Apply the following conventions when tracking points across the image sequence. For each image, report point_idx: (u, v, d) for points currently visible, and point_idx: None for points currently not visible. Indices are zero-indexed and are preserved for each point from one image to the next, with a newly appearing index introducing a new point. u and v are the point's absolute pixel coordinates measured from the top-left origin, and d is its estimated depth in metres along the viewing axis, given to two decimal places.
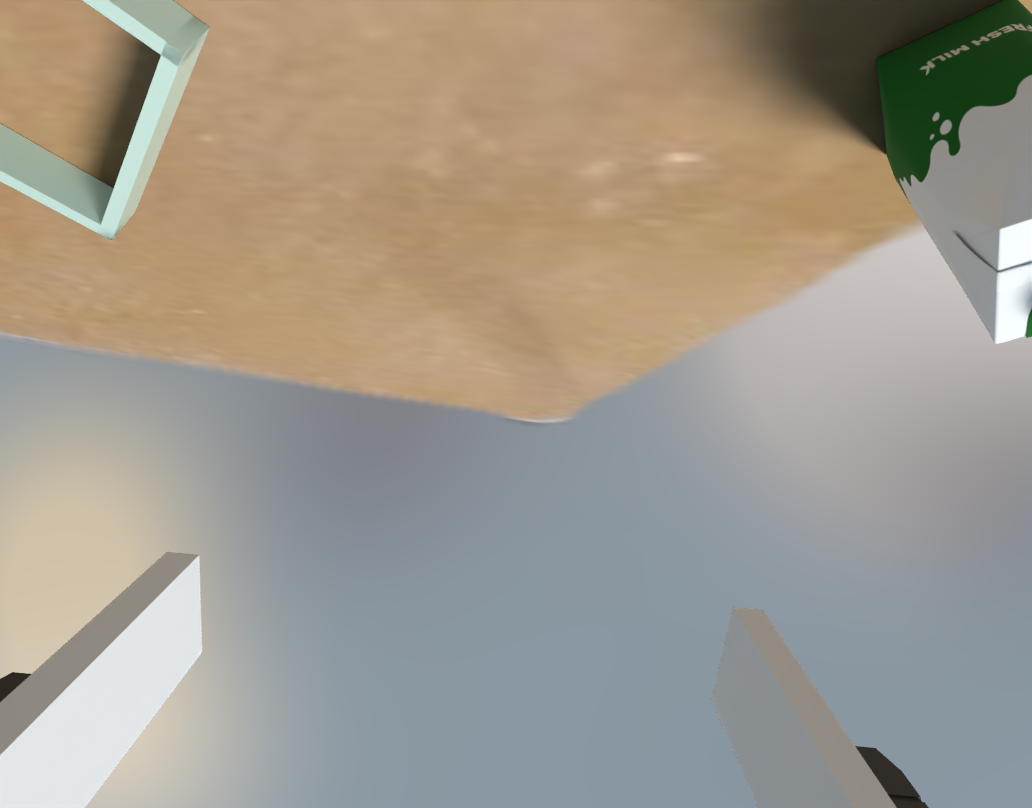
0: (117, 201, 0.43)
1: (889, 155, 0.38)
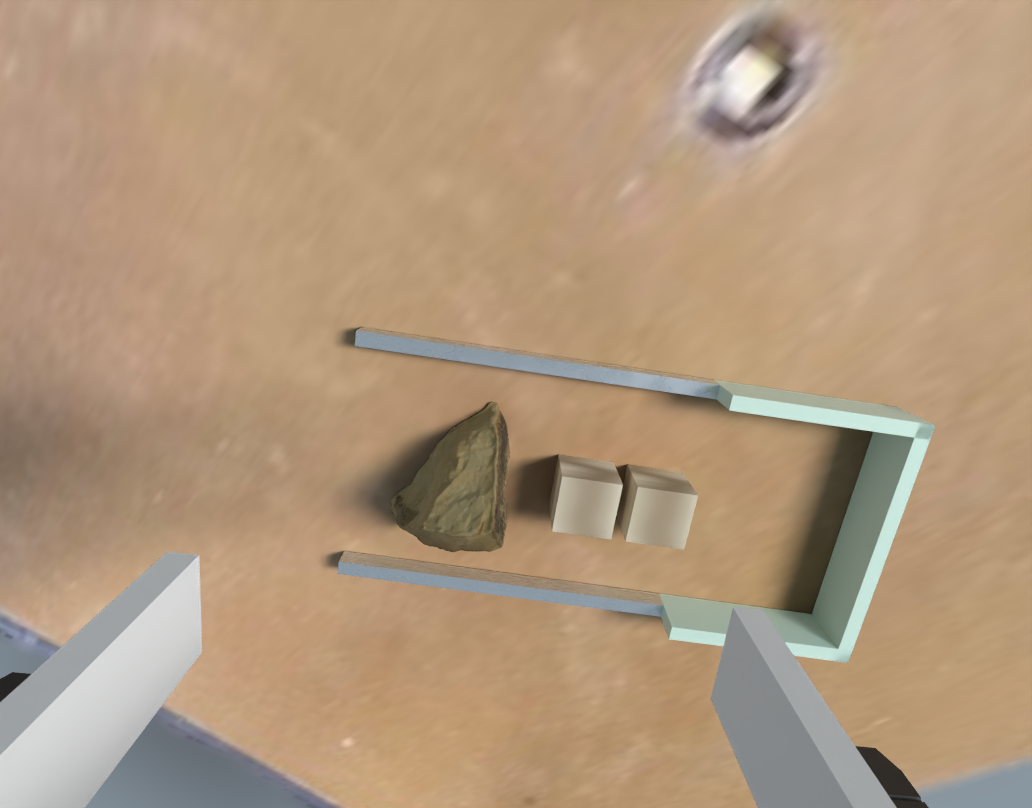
0: (858, 611, 0.41)
1: None
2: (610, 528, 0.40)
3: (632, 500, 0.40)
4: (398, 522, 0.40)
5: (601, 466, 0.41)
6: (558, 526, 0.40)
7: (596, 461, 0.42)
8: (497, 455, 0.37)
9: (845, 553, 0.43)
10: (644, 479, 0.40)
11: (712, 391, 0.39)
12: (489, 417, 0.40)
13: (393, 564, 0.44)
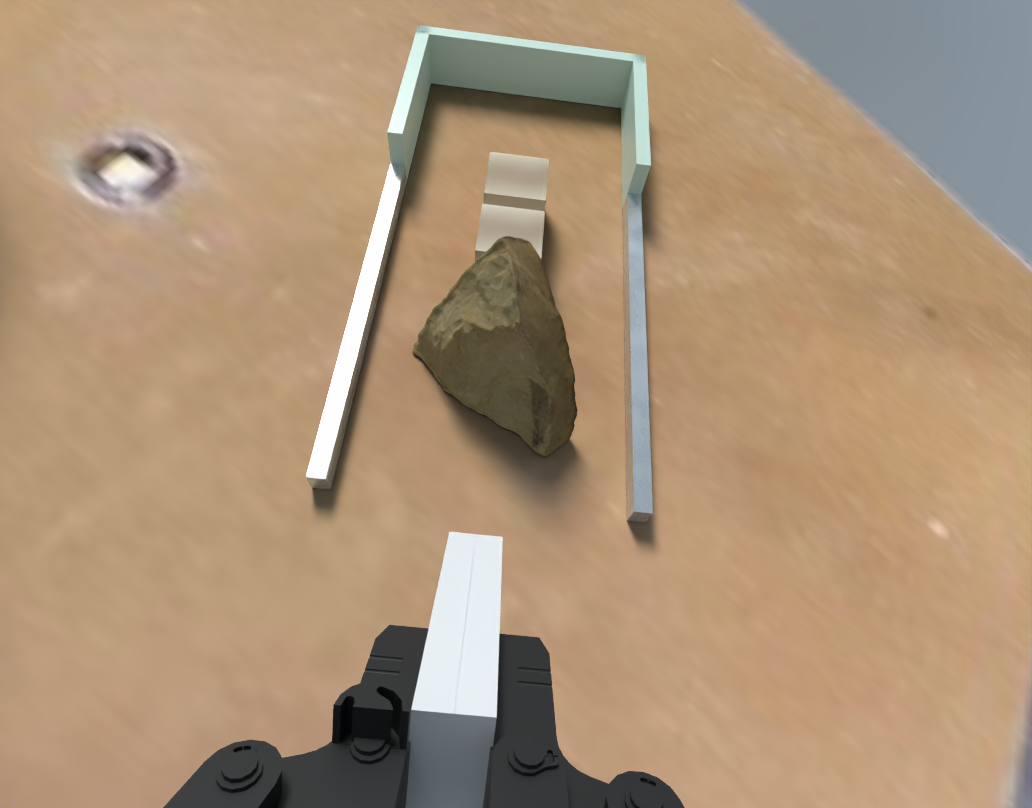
0: (593, 52, 0.47)
1: None
2: (532, 212, 0.38)
3: (503, 202, 0.39)
4: (548, 408, 0.31)
5: None
6: None
7: None
8: (447, 295, 0.33)
9: (550, 83, 0.49)
10: None
11: (396, 167, 0.42)
12: (422, 340, 0.35)
13: (629, 449, 0.33)
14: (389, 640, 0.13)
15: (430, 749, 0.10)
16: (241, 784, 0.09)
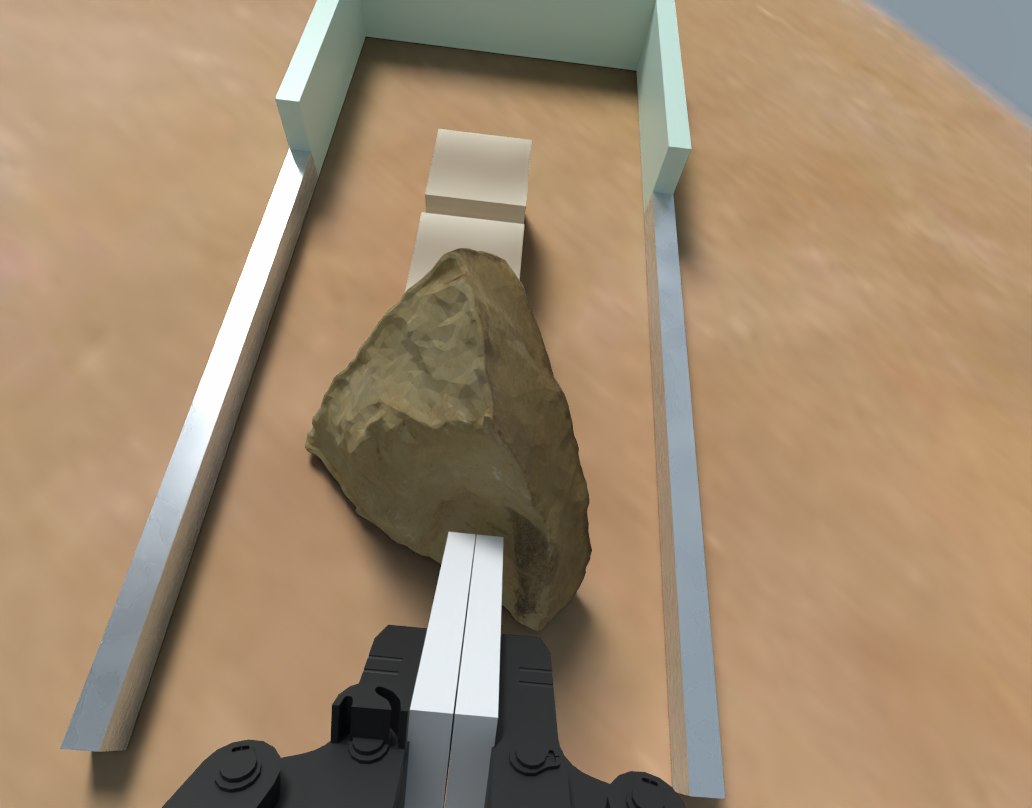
0: None
1: None
2: (503, 225, 0.23)
3: (457, 209, 0.24)
4: (546, 563, 0.17)
5: None
6: None
7: None
8: (356, 357, 0.18)
9: (536, 33, 0.34)
10: None
11: (298, 155, 0.27)
12: (319, 429, 0.21)
13: (674, 649, 0.19)
14: (387, 640, 0.13)
15: (429, 750, 0.10)
16: (239, 784, 0.09)
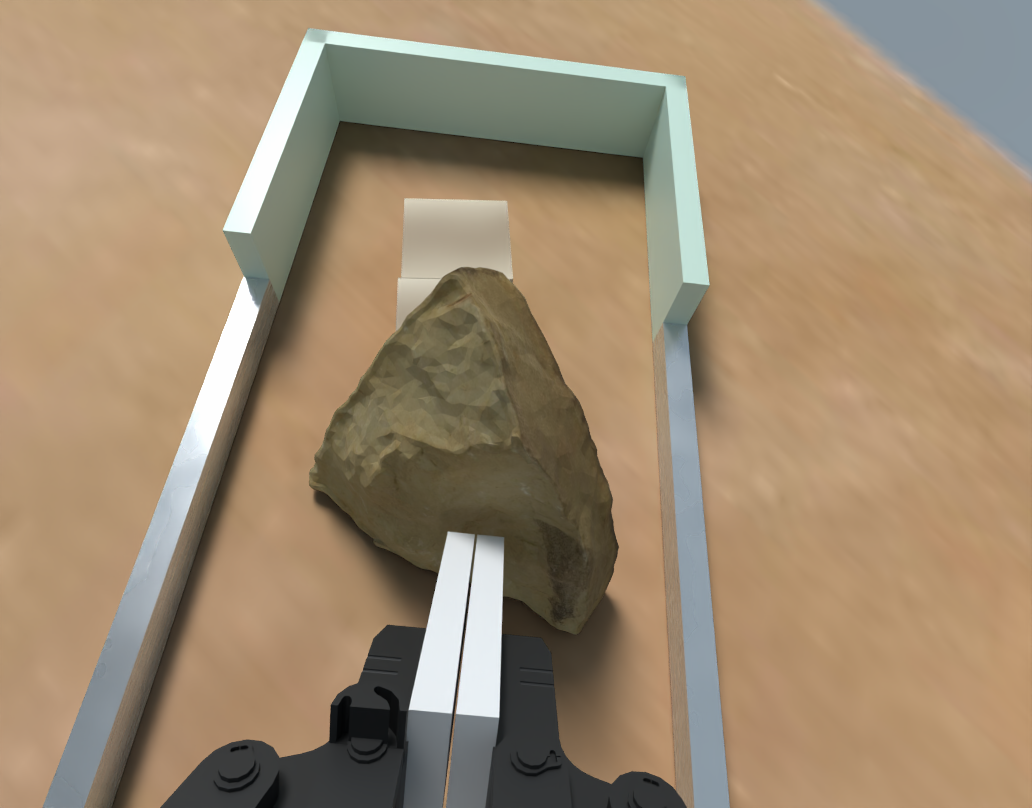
0: (599, 72, 0.28)
1: None
2: None
3: None
4: (582, 568, 0.17)
5: None
6: None
7: None
8: None
9: (530, 120, 0.30)
10: None
11: (253, 284, 0.24)
12: (323, 465, 0.20)
13: None
14: (387, 640, 0.13)
15: (428, 749, 0.10)
16: (238, 784, 0.09)
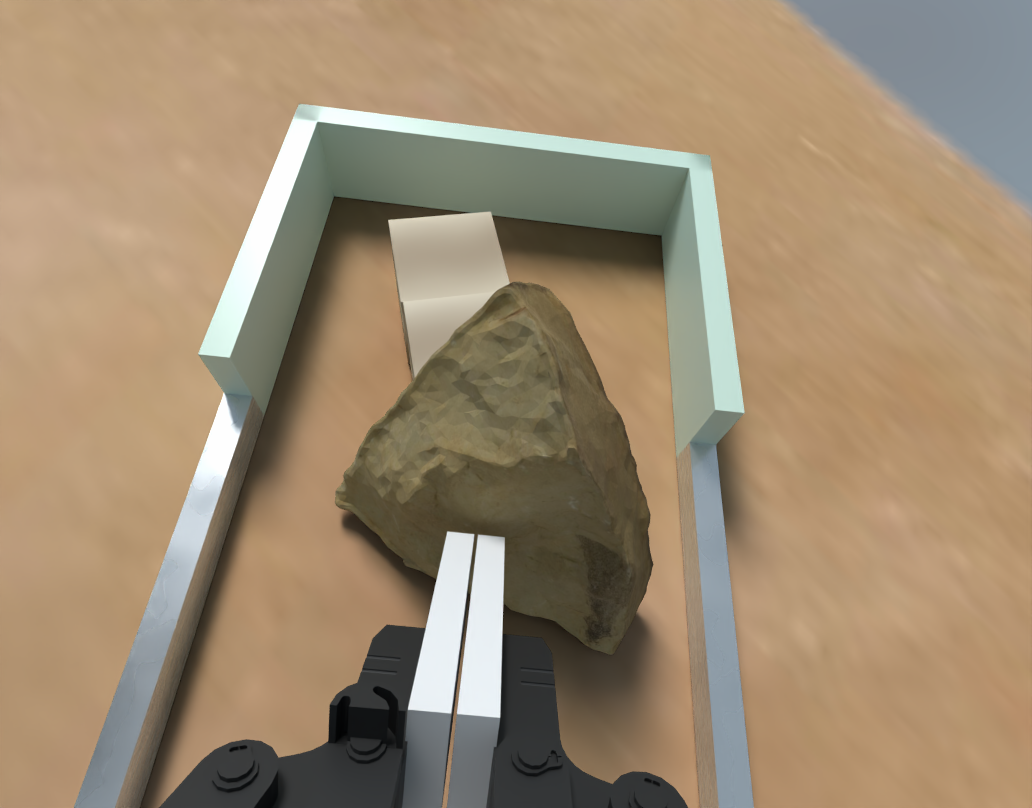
0: (617, 151, 0.26)
1: None
2: None
3: None
4: (625, 585, 0.17)
5: (411, 367, 0.23)
6: None
7: None
8: (395, 404, 0.18)
9: (541, 198, 0.28)
10: (401, 311, 0.23)
11: (235, 403, 0.21)
12: (353, 483, 0.20)
13: None
14: (386, 640, 0.13)
15: (427, 749, 0.10)
16: (237, 784, 0.09)
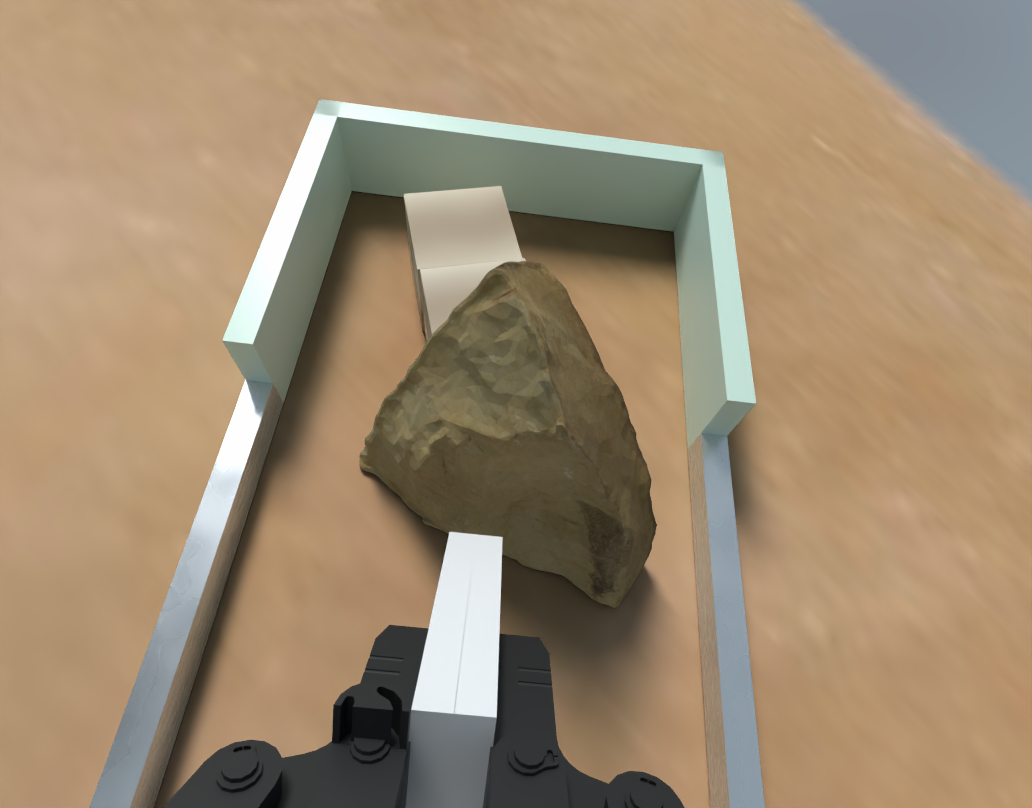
0: (631, 148, 0.26)
1: None
2: None
3: None
4: (623, 547, 0.18)
5: (427, 334, 0.24)
6: None
7: None
8: None
9: (555, 194, 0.28)
10: (416, 280, 0.24)
11: (256, 390, 0.22)
12: (373, 449, 0.21)
13: None
14: (389, 640, 0.13)
15: (430, 750, 0.10)
16: (241, 784, 0.09)
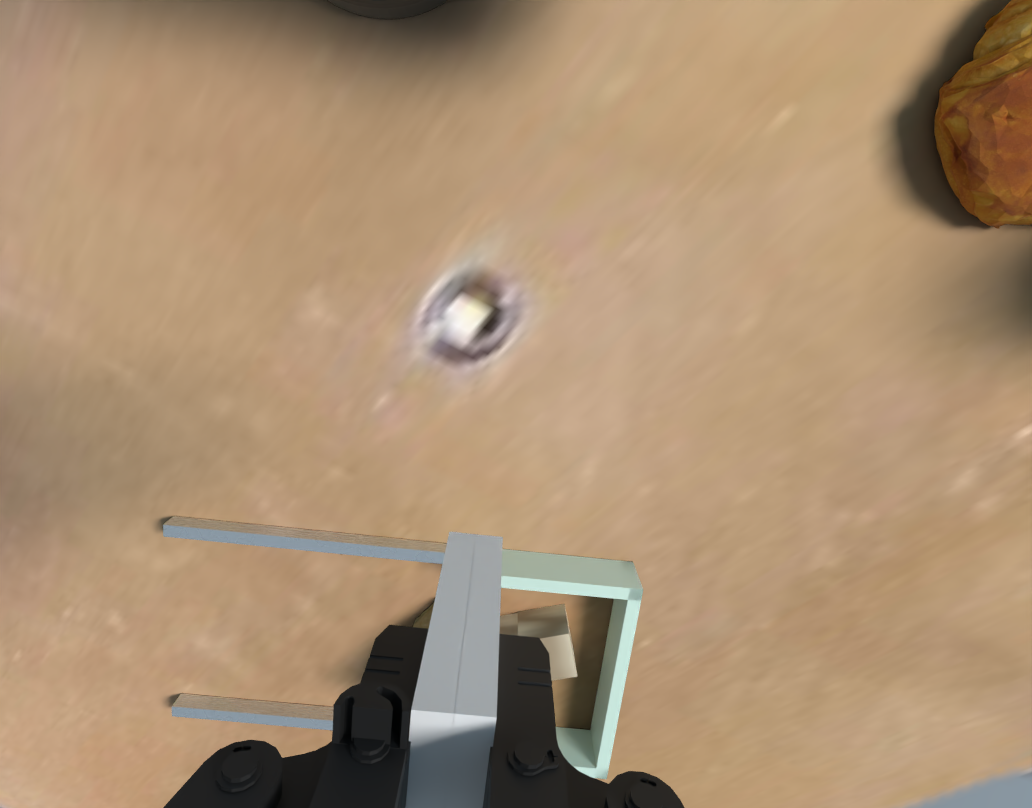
0: (607, 737, 0.48)
1: None
2: None
3: None
4: None
5: (505, 623, 0.49)
6: None
7: (502, 617, 0.50)
8: None
9: (603, 683, 0.50)
10: (526, 628, 0.47)
11: None
12: None
13: (221, 705, 0.51)
14: (389, 640, 0.13)
15: (429, 749, 0.10)
16: (241, 784, 0.09)
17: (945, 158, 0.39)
